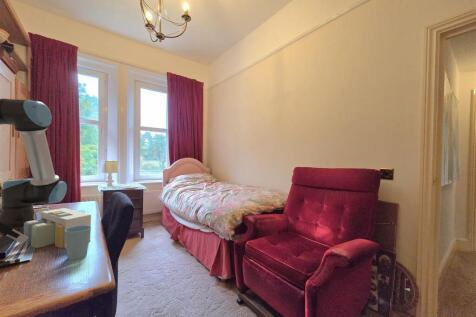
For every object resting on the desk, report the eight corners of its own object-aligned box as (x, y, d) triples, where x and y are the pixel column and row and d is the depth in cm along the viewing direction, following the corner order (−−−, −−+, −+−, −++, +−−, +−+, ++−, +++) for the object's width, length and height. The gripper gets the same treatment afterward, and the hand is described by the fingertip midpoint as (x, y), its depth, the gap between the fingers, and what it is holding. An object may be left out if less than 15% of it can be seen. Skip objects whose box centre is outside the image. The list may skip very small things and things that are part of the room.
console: (65, 248, 86) (66, 218, 86) (40, 237, 96) (40, 210, 96) (90, 241, 94) (91, 213, 94) (64, 232, 104) (64, 207, 104)
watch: (56, 230, 106) (56, 207, 106) (33, 234, 100) (34, 210, 100) (53, 228, 110) (54, 206, 110) (31, 231, 103) (32, 208, 103)
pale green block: (35, 248, 85) (36, 226, 85) (31, 246, 87) (31, 224, 87) (60, 241, 92) (60, 221, 92) (55, 239, 94) (56, 220, 94)
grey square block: (27, 244, 88) (28, 223, 88) (23, 242, 90) (24, 221, 90) (51, 238, 95) (52, 218, 95) (47, 236, 97) (48, 217, 97)
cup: (71, 264, 74) (72, 233, 74) (59, 259, 77) (60, 229, 77) (94, 255, 81) (95, 227, 81) (82, 251, 84) (83, 224, 84)
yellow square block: (60, 248, 86) (60, 226, 86) (55, 246, 87) (55, 224, 87) (82, 241, 93) (83, 221, 93) (77, 239, 94) (78, 220, 94)
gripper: (-64, 210, 69) (8, 245, 84) (-54, 217, 63) (22, 253, 78) (-37, 192, 74) (27, 228, 89) (-26, 196, 68) (41, 234, 82)
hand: (24, 240), depth 83 cm, fingers closed
